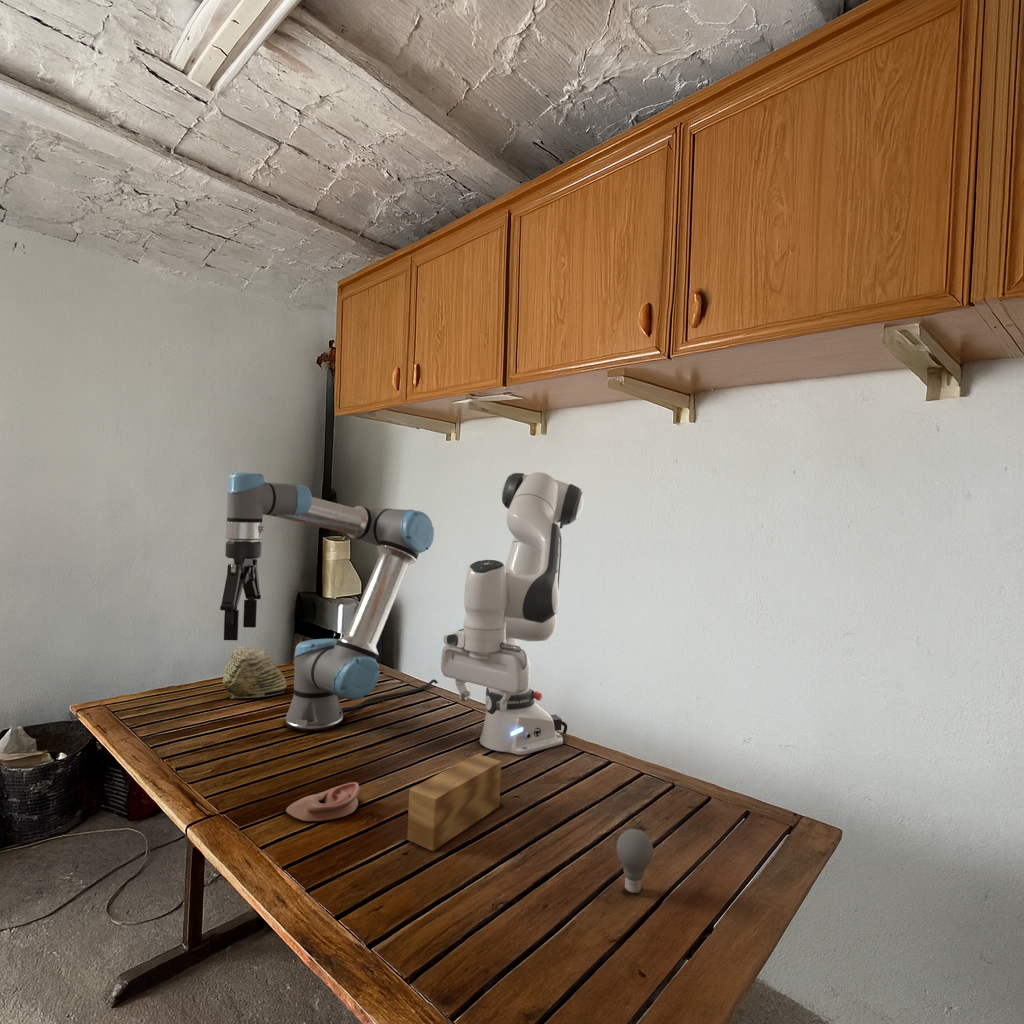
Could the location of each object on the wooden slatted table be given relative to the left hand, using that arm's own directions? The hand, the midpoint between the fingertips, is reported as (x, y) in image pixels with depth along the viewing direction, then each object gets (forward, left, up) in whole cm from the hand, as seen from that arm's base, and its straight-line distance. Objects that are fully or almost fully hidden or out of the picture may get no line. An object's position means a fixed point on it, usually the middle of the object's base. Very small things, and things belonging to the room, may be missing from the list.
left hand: (240, 633), depth 144 cm
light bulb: (-21, +90, -31) cm, 98 cm away
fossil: (-31, -47, -31) cm, 64 cm away
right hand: (-25, +52, -10) cm, 59 cm away
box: (-18, +53, -31) cm, 64 cm away
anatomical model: (-3, +30, -31) cm, 43 cm away
